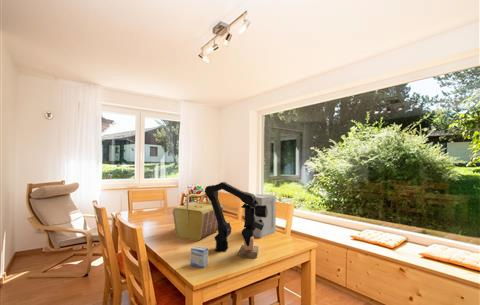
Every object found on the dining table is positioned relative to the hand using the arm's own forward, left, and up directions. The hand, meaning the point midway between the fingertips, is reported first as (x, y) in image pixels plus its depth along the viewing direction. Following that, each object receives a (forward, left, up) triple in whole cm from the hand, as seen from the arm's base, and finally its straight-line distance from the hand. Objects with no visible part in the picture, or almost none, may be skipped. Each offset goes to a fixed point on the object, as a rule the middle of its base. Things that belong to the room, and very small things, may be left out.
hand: (249, 243), depth 136 cm
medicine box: (-23, -20, -6) cm, 31 cm away
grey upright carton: (+4, +41, -6) cm, 42 cm away
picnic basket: (-40, +28, -6) cm, 49 cm away
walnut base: (0, 0, -6) cm, 6 cm away
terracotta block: (0, 0, -3) cm, 3 cm away
